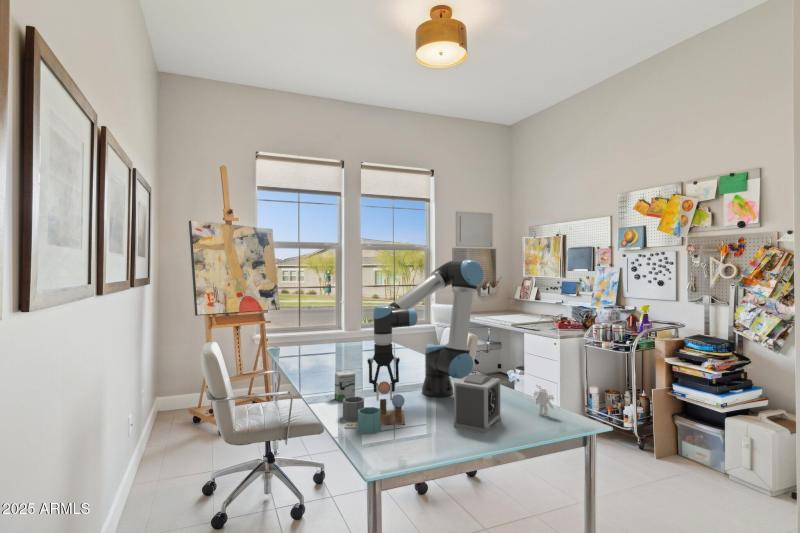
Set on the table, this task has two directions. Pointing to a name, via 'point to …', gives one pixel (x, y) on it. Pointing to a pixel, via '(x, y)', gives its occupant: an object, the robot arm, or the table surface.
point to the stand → (391, 415)
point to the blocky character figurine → (543, 400)
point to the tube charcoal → (352, 407)
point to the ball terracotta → (384, 387)
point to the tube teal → (369, 420)
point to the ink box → (344, 385)
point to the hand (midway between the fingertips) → (384, 399)
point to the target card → (351, 425)
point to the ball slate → (398, 400)
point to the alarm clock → (476, 403)
